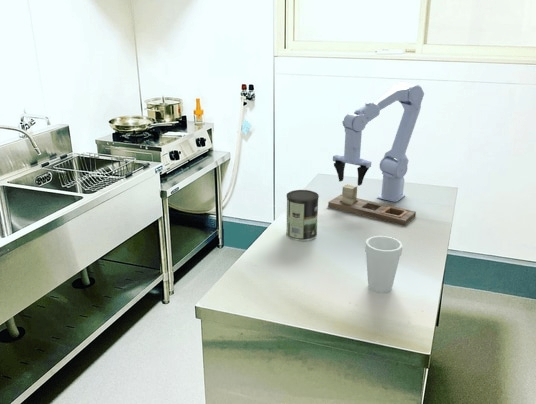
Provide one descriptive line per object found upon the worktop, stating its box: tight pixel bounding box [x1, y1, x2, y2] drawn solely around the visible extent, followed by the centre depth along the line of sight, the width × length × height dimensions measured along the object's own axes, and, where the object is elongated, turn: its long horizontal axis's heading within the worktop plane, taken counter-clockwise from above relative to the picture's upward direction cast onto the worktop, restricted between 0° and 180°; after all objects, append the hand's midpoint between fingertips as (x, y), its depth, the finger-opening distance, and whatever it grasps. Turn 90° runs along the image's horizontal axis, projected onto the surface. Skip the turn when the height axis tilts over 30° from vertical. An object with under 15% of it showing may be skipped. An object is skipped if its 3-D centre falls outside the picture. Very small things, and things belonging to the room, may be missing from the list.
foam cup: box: [364, 235, 403, 294], centre depth 141 cm, size 10×9×13 cm
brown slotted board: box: [327, 193, 417, 227], centre depth 193 cm, size 10×30×2 cm, turn 55°
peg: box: [341, 183, 358, 205], centre depth 197 cm, size 4×4×8 cm
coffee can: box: [286, 189, 320, 242], centre depth 172 cm, size 10×10×14 cm
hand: (350, 182), depth 195 cm, fingers open, 7 cm apart
